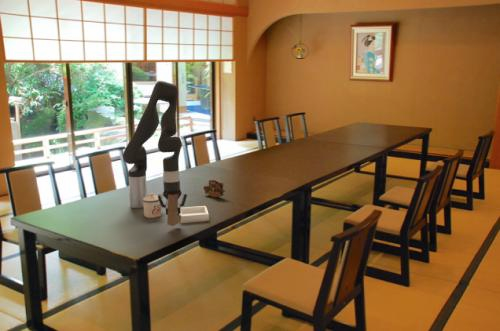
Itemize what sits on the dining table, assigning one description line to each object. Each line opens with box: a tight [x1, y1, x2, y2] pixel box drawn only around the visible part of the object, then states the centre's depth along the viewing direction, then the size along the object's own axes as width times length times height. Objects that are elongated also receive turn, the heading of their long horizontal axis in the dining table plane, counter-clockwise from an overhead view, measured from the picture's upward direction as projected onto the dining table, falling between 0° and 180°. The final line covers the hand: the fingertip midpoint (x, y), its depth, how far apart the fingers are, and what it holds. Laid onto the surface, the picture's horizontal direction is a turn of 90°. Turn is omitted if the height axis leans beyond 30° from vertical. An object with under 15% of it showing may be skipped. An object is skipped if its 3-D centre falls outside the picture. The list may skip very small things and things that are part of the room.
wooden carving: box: [203, 179, 227, 198], centre depth 283 cm, size 16×5×10 cm, turn 53°
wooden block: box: [166, 193, 181, 227], centre depth 231 cm, size 7×3×15 cm, turn 154°
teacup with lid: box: [143, 192, 162, 219], centre depth 253 cm, size 12×9×12 cm
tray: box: [179, 205, 210, 224], centre depth 248 cm, size 14×14×4 cm
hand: (173, 215), depth 232 cm, fingers closed on wooden block, 4 cm apart
